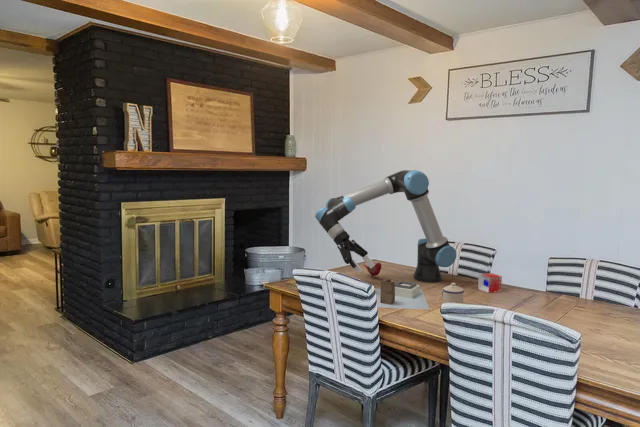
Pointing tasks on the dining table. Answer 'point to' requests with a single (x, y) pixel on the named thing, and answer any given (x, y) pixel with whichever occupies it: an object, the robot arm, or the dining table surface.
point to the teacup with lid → (452, 293)
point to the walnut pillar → (387, 291)
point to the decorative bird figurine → (374, 269)
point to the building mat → (404, 301)
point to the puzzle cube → (489, 282)
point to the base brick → (406, 289)
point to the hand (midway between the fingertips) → (366, 269)
